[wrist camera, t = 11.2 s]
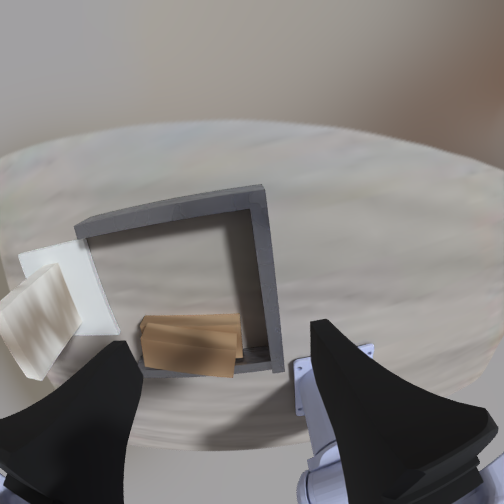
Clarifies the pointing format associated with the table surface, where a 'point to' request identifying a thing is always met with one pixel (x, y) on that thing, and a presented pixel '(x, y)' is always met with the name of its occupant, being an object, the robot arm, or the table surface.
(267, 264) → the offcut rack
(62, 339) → the white upright pillar
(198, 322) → the lower oak offcut
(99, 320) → the white mat
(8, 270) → the table surface
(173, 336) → the upper oak offcut
